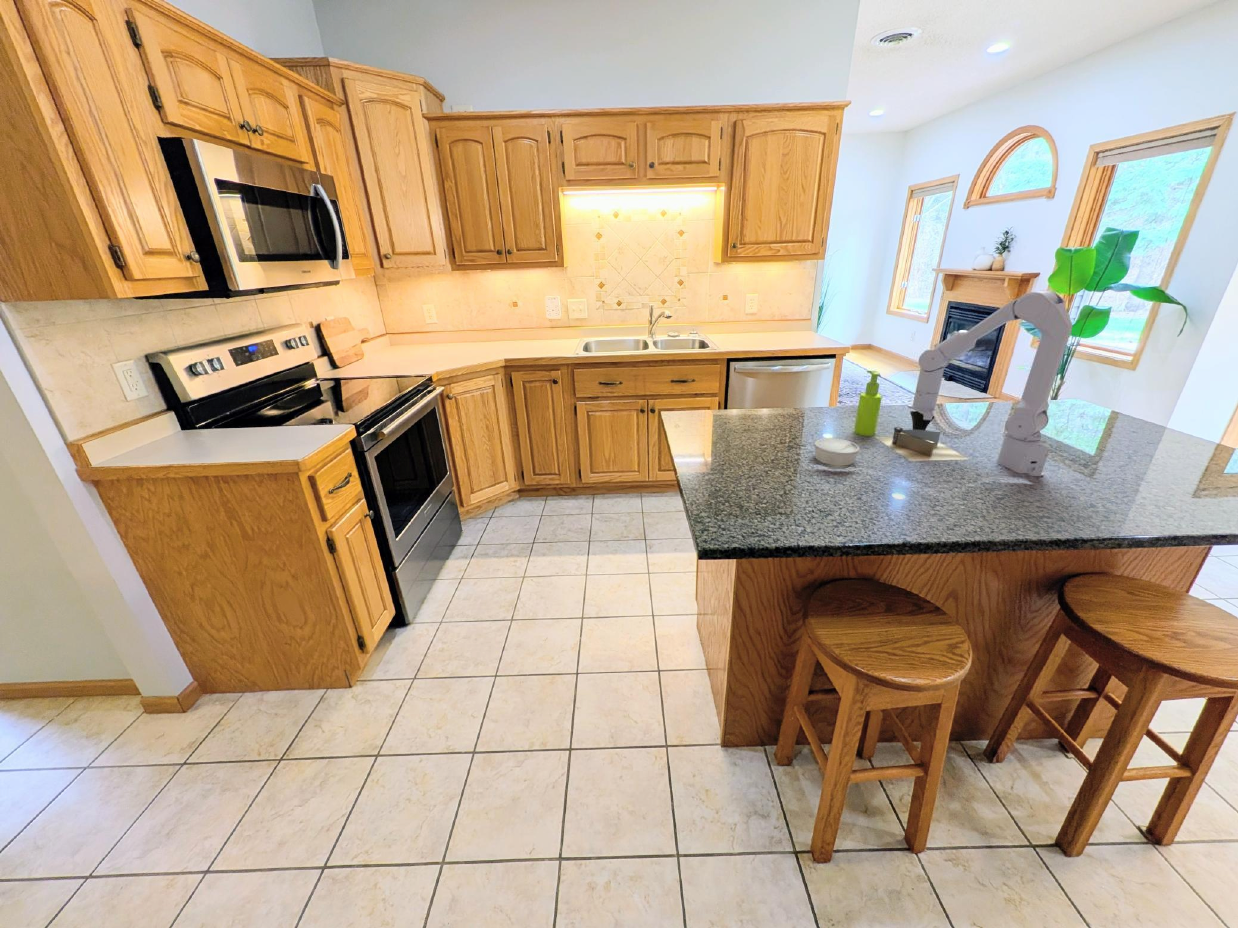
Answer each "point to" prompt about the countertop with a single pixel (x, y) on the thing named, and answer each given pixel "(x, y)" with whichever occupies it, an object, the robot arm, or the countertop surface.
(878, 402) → the soap dispenser
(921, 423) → the robot arm
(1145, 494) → the countertop surface
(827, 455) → the ramekin
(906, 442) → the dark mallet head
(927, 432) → the slate bar
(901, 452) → the maple board
